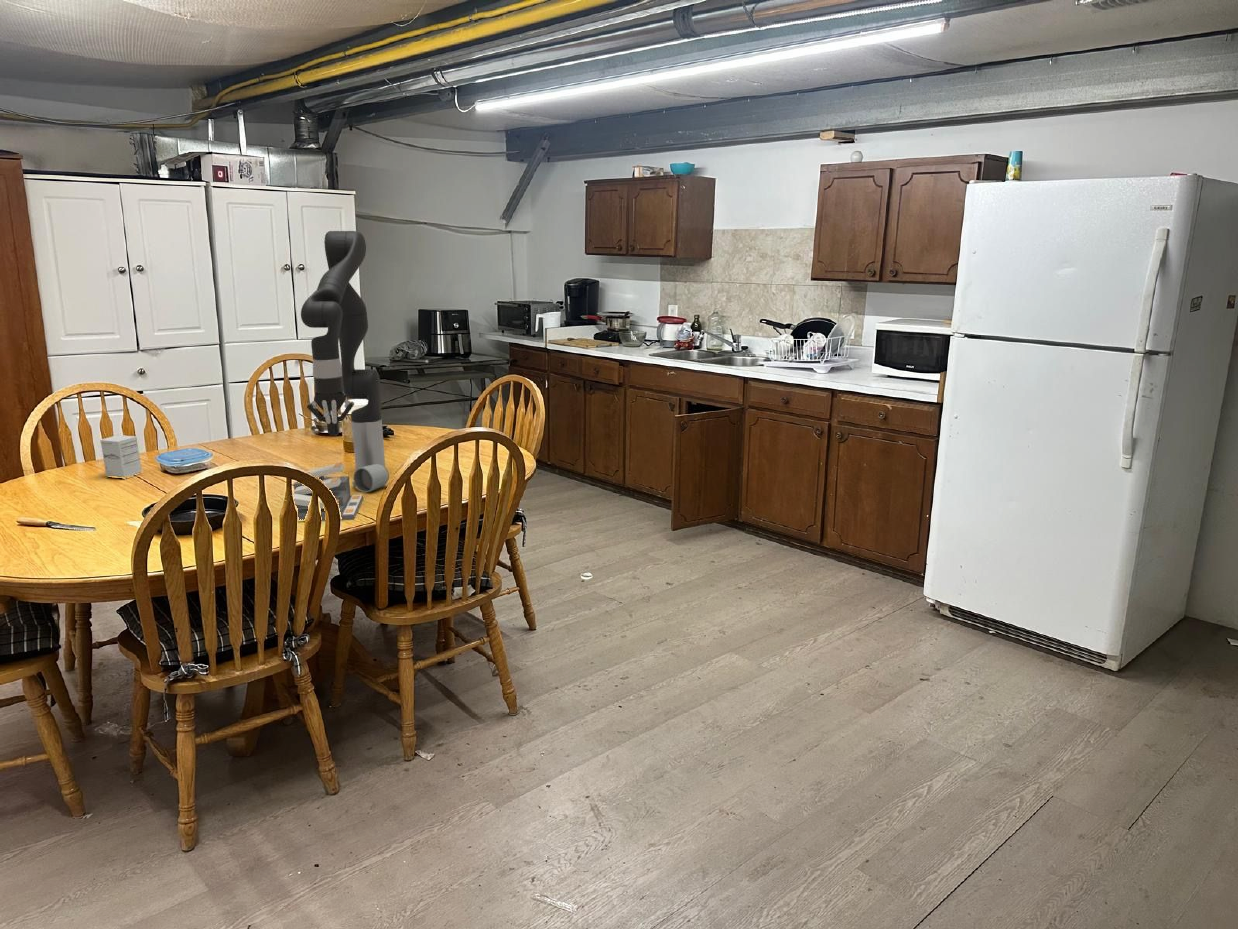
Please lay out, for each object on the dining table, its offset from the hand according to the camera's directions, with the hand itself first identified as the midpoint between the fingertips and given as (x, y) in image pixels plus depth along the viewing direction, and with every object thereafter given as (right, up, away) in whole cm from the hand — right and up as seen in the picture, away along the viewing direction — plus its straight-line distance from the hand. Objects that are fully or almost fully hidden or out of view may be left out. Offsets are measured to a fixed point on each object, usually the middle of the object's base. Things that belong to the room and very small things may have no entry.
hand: (333, 435), depth 240 cm
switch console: (-2, -21, -1) cm, 21 cm away
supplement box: (-77, -12, +32) cm, 84 cm away
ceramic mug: (+4, -16, +19) cm, 25 cm away
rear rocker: (-4, -10, +2) cm, 11 cm away
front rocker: (-3, -18, -8) cm, 20 cm away
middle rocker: (-4, -14, -3) cm, 15 cm away
